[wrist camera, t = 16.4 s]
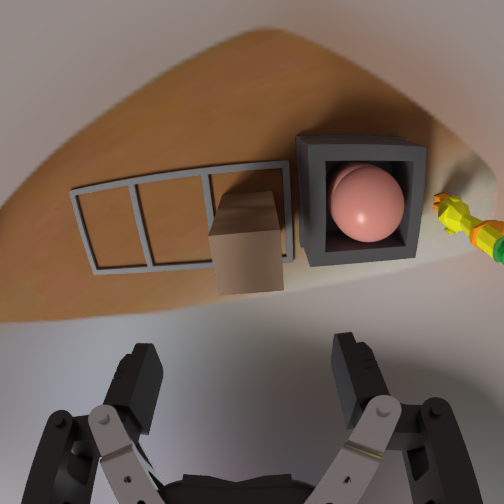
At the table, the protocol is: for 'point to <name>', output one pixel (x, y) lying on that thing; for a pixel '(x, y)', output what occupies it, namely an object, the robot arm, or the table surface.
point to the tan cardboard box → (246, 244)
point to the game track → (208, 204)
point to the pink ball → (364, 200)
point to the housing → (314, 196)
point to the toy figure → (471, 225)
